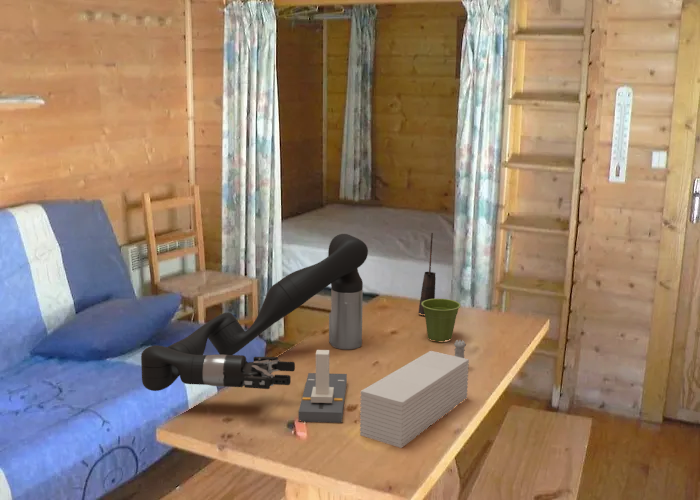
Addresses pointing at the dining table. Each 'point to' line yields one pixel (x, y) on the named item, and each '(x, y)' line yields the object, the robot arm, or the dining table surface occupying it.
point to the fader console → (323, 410)
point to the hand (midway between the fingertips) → (292, 373)
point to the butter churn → (428, 284)
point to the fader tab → (322, 379)
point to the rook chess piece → (459, 348)
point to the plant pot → (440, 318)
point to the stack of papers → (413, 398)
